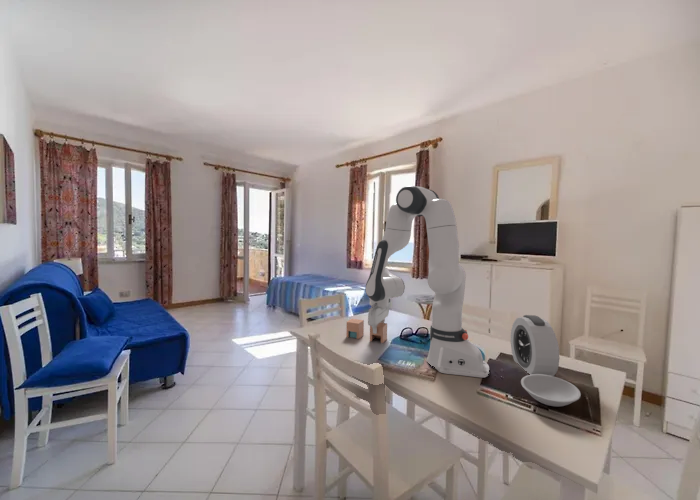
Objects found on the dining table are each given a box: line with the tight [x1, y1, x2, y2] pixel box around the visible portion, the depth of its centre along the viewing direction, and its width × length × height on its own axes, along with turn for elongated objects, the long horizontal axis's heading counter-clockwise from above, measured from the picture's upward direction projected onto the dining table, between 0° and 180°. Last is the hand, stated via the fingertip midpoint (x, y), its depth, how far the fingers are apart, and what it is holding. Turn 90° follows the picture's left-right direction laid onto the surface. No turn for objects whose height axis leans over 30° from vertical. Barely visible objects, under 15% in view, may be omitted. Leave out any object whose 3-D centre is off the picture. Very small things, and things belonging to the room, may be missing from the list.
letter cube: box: [349, 331, 357, 339], centre depth 142 cm, size 4×4×4 cm
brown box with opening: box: [369, 322, 388, 344], centre depth 137 cm, size 6×6×8 cm
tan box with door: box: [345, 318, 365, 340], centre depth 142 cm, size 6×6×8 cm
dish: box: [520, 374, 582, 408], centre depth 86 cm, size 18×14×5 cm
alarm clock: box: [510, 314, 560, 377], centre depth 109 cm, size 21×8×20 cm, turn 172°
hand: (378, 330), depth 137 cm, fingers open, 8 cm apart
